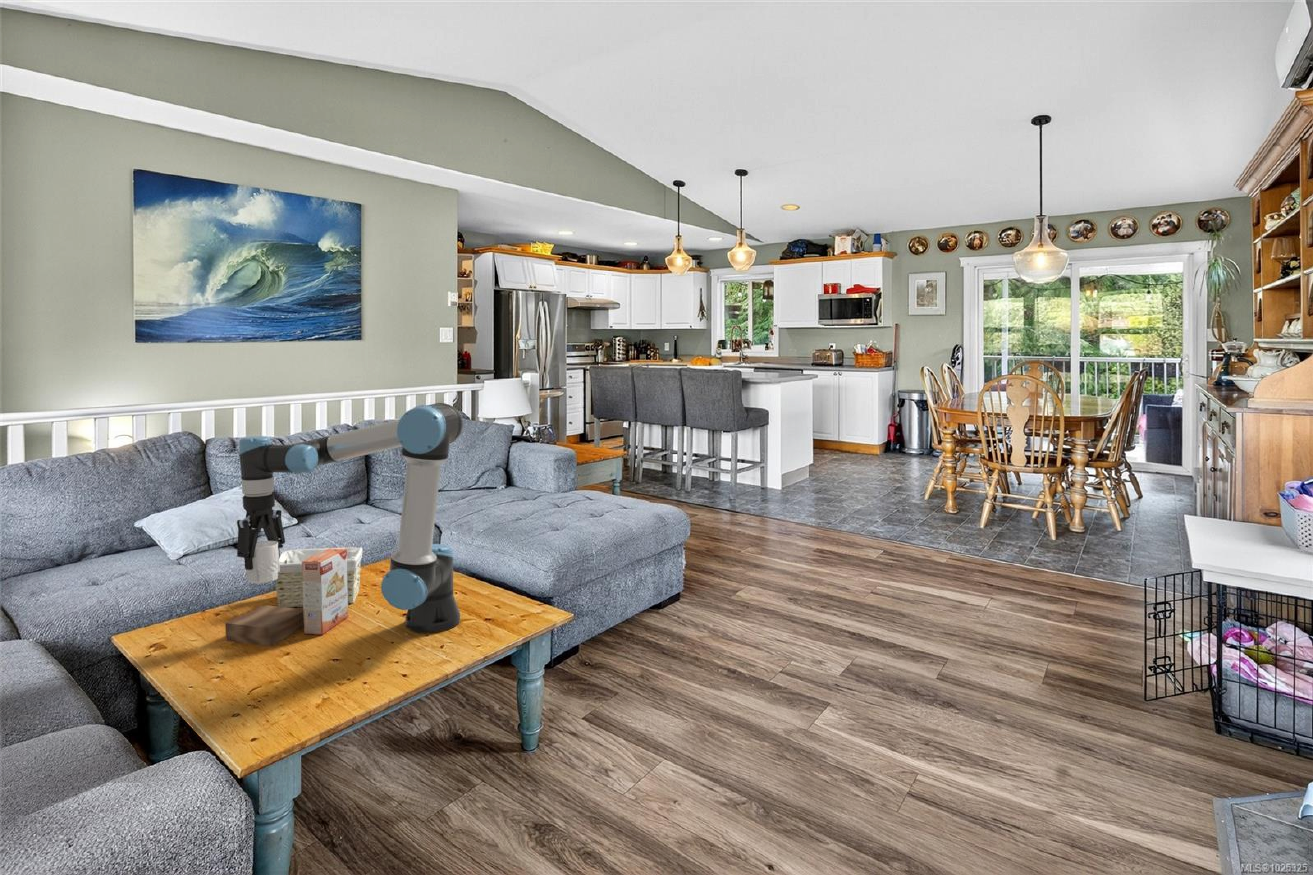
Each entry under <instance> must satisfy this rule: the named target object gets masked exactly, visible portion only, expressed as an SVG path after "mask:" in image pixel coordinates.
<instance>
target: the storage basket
mask: <svg viewBox="0 0 1313 875" xmlns="http://www.w3.org/2000/svg"><path fill="white" fill-rule="evenodd" d="M331 548H332V549H346V550H347V591H348V605H349V604H354V603H355V602H356V599H357V596H358V595H359V592H360V585H361V581H360V579H361V572H362V569H361V562H362V557H363V550H364V549H363V548H362V547H331ZM327 549H329V548H302V549H301V548H300V549H291V550H284V551H282V553H281V554H280V558H279V564H280V572H278V578H277V579H276V580H274V581H275V590H276V598H277V605H278V606H277V607H286V608H299V607H300V608H301V607H302V608H303V582H302V561H304V560H306V559H308V558H310V557H312V556H315V555H317V554H319V553H321V552H323V551H325V550H327Z"/></svg>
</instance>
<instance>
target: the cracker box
mask: <svg viewBox="0 0 1313 875" xmlns="http://www.w3.org/2000/svg"><path fill="white" fill-rule="evenodd" d="M332 548H333V547H330V548H329V549H327V550H325V551H323V552H321V553H319V554H317V555H315V556H312V557H310V558H308V559H306V560H304V561H302V582H303V607H302V609H303V614H304V629H303V633H304V635H319V636H321V635H322V636H323V635H324V634H326V633H327V632H329V631H330V630H331V629H334V627H336V626H337V625H338V624H340V623H342V622H343V621H344V620H346V619H347V618H349V604H348V591H347V550H346V549H332Z"/></svg>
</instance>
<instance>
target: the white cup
mask: <svg viewBox="0 0 1313 875" xmlns="http://www.w3.org/2000/svg"><path fill="white" fill-rule="evenodd" d="M253 557H256V560H257V574H258V581H249V583H252V584H257V585H258V584H268V583H271V582H274V581H275V580H276V579H277V578H278V542H276V541H268V540H261V541H257V543H256V548H255V552H254V556H253Z"/></svg>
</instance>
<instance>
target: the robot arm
mask: <svg viewBox="0 0 1313 875" xmlns="http://www.w3.org/2000/svg"><path fill="white" fill-rule="evenodd" d="M463 427H464V423H463V417H462V415H461V414H460V411H459V410H458V409H457V408H456V407H454V405H451V404H449V403H445V402H437V403H432V404H426V405H424V404H423V405H422V404H421V405H418V406H414V407H413V408H411V409H409V410H407V411H406V412H405V413H404V414H403V415H402V416H401V417H400V419H396V420H393V421H387V422H384V423H383V422H382V423H380V424H375V425H371V426H367V427H363V428H358V429H353V430H349V431H346V432H341V433H337V434H331V435H327V436H324V437H323V436H322V437H318V438H314V439H311V440H305V441H300V442H297V443H295V442H294V443H292V444H291V443H289V444H273V443H272V440H271V437H270V436H265V435H260V436H259V435H258V436H257V435H255V436H245V437H242V438H240V440H239V442H238V443H239V445H238V448H239V450H238V451H239V453H238V456H239V463H240V466H239V467H240V472H241V473H240V474H241V476H240V477H241V489H242V490H241V493H242V494H243V496H242V507H243V508H242V509H243V510H245V511H246V514H245V517H244V518H243V519H237V520H236V526H237V528H238V529H237V551H236V555H237V557H238V558H243V560H244V570H245V572H246V582H247V581H248V582H250V581H258V574H257V560H256V557H253V556H254V552H255V548H256V543H257V542H258V539H259V534H260V533H261V532H262V529H263V531H264V534H265V537H266V541H276V542H278V572H280V564H279V558H280V555H281V554H280V553H281V550H280V549H282V548H283V547H284V544H286V538H285V533H284V532H285V531H284V527H283V522H282V514H283V513H282V510H281V509H274V508H275V506H276V503H275V493H274V492H275V484H274V473H283V474H285V473H286V474H287V473H291V474H298V475H299V474H305V473H306V474H309V473H311V472H313V471H314V470H315V469H316V467H318V466H323V465H327V464H332V463H336V462H339V461H344V460H349V459H353V458H358V457H362V456H367V455H371V454H376V453H380V452H385V451H389V450H393V449H398V448H401V457H402V458H403V459H404V460H405V461H406V467H405V468H406V469H405V477H404V478H405V479H404V488H403V496H402V506H401V514H400V515H401V516H400V517H401V518H400V526H399V527H400V528H399V536H398V542H397V543H398V544H397V546H398V547H397V549H396V550H395V551H394V552H392V553H391V555H390V561H389V562H390V564H389V571H387V572H386V574H384V577H383V578H382V580H381V585H380V589H381V590H380V591H381V594H382V596H383V598H384V601H387V603H388V604H389V605H390V606H391V607H393V608H395V609H398V610H402V611H404V610H405V611H407V612H406V615H405V628H406V629H407V630H409V631H411V632H415V633H422V634H423V633H425V634H427V633H429V634H430V633H431V634H432V633H437V632H444V631H447V630H450V629H452V628H454V627H456V626H458V625H459V624H460V622H461V612H460V610H459V606H458V604H457V601H456V599H455V596H454V556H453V555H454V554H453V548H452V547H451V546H450V545H447V544H442V543H441V544H440V543H433V541H434V533H435V532H434V531H435V522H436V516H437V515H436V514H437V513H436V512H437V505H438V498H439V497H438V495H439V488H440V477H441V471H442V470H441V469H442V465H443V463H445V462H446V461H447V460H449V452H450V444H452V443H454V442H455V441H456V440H457V439H458V438H459V437H460V436H461V434H462V431H463V429H464V428H463Z"/></svg>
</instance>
